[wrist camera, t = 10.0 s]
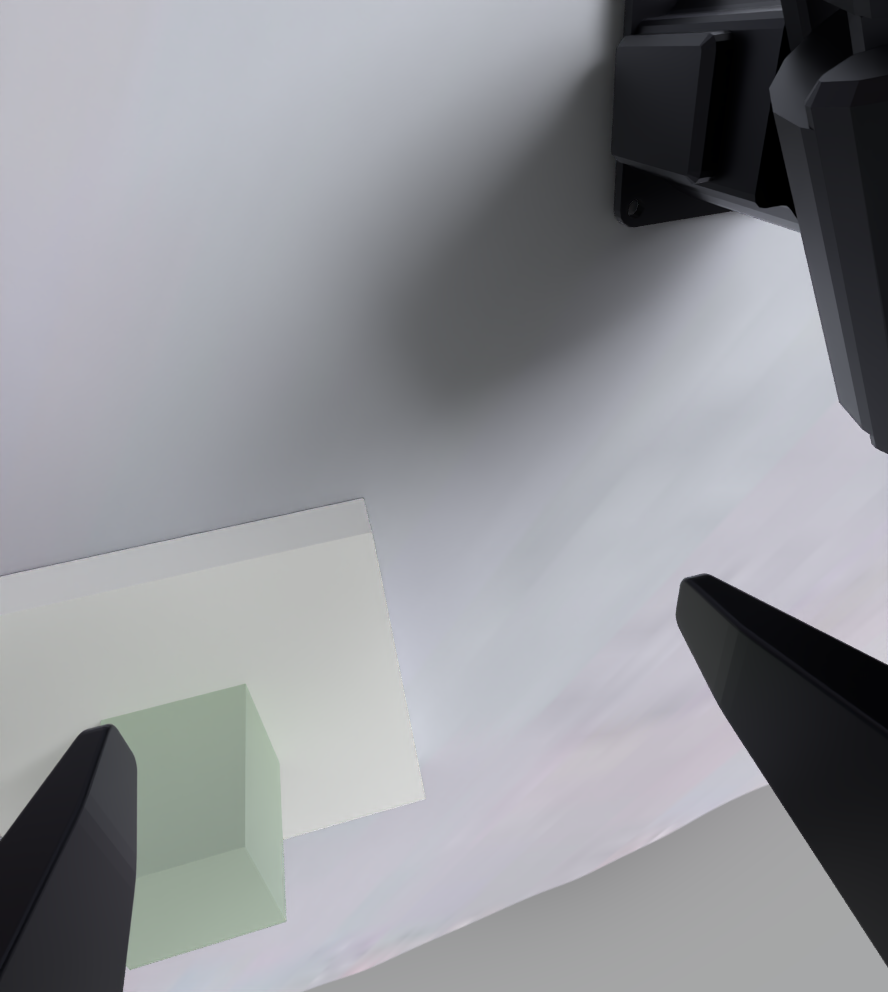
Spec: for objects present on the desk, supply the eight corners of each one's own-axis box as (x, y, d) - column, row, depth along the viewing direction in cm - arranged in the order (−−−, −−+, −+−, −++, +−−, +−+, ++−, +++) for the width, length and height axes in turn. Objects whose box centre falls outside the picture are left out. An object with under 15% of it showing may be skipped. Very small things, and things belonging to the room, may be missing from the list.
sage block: (245, 683, 23) (244, 846, 19) (279, 762, 26) (286, 921, 22) (101, 720, 23) (61, 899, 18) (152, 797, 26) (129, 969, 21)
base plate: (363, 498, 23) (372, 531, 21) (416, 761, 32) (425, 799, 30) (-141, 606, 20) (-174, 654, 19) (74, 856, 30) (65, 902, 28)
